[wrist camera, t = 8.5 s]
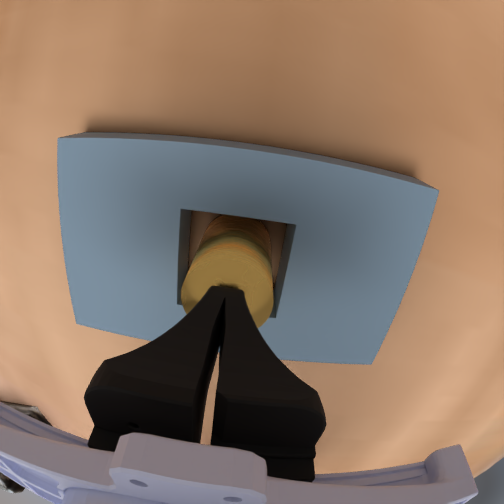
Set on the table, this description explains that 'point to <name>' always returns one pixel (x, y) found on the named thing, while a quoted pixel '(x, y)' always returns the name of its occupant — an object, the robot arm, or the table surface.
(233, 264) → the brass cylinder
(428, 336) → the table surface
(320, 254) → the jig
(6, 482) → the radio
